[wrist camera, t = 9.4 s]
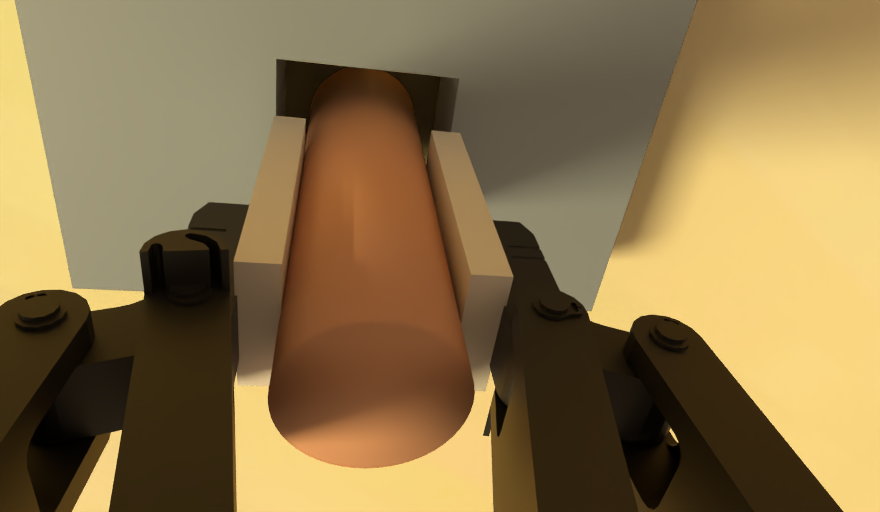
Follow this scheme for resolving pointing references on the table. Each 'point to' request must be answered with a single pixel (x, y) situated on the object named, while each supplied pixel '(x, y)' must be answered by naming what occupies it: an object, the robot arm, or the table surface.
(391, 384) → the peg
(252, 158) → the hole block
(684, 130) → the table surface
